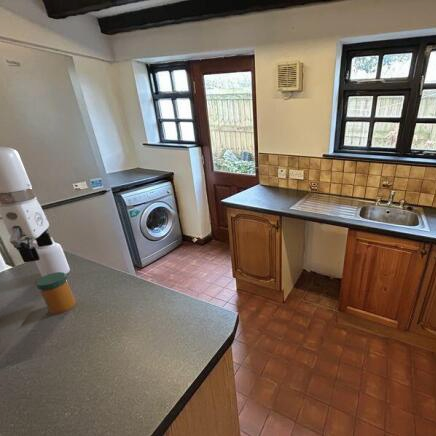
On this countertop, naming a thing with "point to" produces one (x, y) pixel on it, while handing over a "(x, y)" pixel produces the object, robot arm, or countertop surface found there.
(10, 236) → the robot arm
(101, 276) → the countertop surface
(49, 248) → the pill bottle
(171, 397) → the countertop surface
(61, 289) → the honey jar
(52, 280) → the jar lid
